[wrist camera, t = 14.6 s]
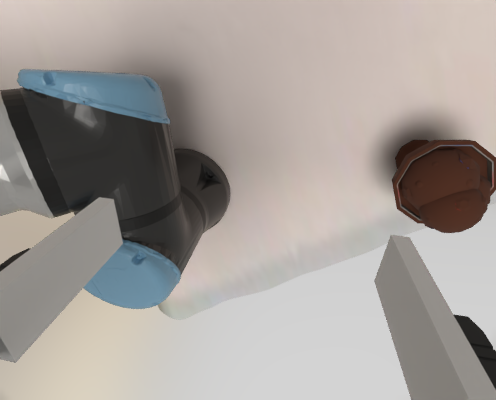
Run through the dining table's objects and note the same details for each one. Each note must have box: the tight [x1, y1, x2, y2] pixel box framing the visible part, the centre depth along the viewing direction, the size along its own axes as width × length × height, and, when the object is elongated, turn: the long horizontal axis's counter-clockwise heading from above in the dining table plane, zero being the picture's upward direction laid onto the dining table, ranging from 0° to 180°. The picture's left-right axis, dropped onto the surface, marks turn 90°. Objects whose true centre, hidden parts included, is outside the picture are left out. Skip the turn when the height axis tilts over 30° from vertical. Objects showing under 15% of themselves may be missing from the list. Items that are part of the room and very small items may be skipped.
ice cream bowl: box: [392, 140, 496, 233], centre depth 35 cm, size 11×11×15 cm
